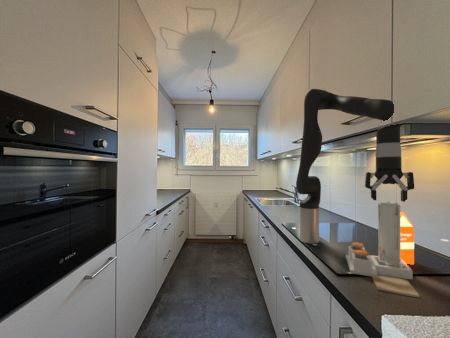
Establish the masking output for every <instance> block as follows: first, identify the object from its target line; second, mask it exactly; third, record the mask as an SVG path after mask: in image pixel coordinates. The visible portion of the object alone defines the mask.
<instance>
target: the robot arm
mask: <svg viewBox="0 0 450 338" xmlns="http://www.w3.org/2000/svg"><path fill="white" fill-rule="evenodd" d="M392 101H393V100H389V99H383V98H382V99H381V98H380V99H379V98H370V97H362V96H351V95H350V96H349V95H347V96H344V95H339V94H335V93H333V92H329V91H327V90H324V89H320V88H311V89H309V90H308V91H307V92H306V94H305V95H304V100H303V126H302V127H303V129H302V138H301V147H300V149H301V150H300V159H299V167H298V173H297V176H296V182H295V184H296V185H295V188H296V192H297V193H298V194H299V195H307V196H306V197H305V198H304V199H302V200H300V202H299V241H301V242H302V243H303V244H304V243H305V244H313V245H314V244H319V243H320V204H321V197H322V196H321V194H322V193H321V191H322V185H321V184H322V183H321V180H320V178H319V177H317V176H315V175H309V174H310V170H311V167H312V165H313V164H314V163H315V161H316V160H317V159H318V157H319V155H320V154H321V151H322V144H323V135H322V131H321V128H320V125H319V120H318V119H319V118H318V116H319V111H321V110H336V111H340V112H342V113H345V114H348V115H353V116H359V117H367V118H371V119H375V120H379V121H382V120H383V121H385V120H388V119H389V118H390V117H391V116H392V115H393V113H394V104H393V102H392ZM400 126H401V125H400V124H396V125H390V126H383V127H381V126H380V128H378V129H377V131H376V133H375V134H376V137H375V139H376V140H375V141H376V142H375V143H376V147H375V155H374V156H375V172H369V171H367V172H365V180H364V187H365V189H369V190H370V199H372V200H373V201H377V190H376V189H378V188H379V187H380V186H381V185H389V184H390V185H397V186H398V187H399V188H400V189H401V190H400V201H401V202H404V203H405V202H406V201H408V192H409V191H410V190H415V179H414V172H411V171H408V172H403V170H402V146H401V129H400ZM401 127H402V126H401ZM374 177H375V178H376V180H375V182H374V183H373V184H372V185H371V180H372V179H373V178H374ZM403 177H404V178H405V179H406V185H407V186H406V185H405V183H404V182H403V181H402V180H401V179H402V178H403Z"/></svg>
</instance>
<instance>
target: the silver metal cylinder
mask: <svg viewBox="0 0 450 338" xmlns="http://www.w3.org/2000/svg"><path fill="white" fill-rule="evenodd" d="M400 212H401V205H400V204H399V202H398V201H397V202H396V201H390V200H389V201H388V200H380V201H379V202H378V204H377V217H378V218H377V221H378V222H377V223H378V224H377V227H378V228H377V229H378V232H377V233H378V235H377V237H378V238H377V239H378V244H377V245H378V248H377V249H378V253H377V254H378V255H377V256H378V258H379V265H383V266H390V267H398V268H401V239H400Z"/></svg>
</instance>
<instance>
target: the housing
mask: <svg viewBox="0 0 450 338" xmlns="http://www.w3.org/2000/svg"><path fill="white" fill-rule="evenodd" d="M362 250H364V251H366V252H367V250H366V249H365V247H364V246H363V248H362ZM345 259H346V263H347V266H348V269H349V273H350V272H351V273H350V274H354V275H358V276H359V275H360V276H367V277H371V275H381V276H388V277H394V278H401V279H407V280H413V281H414V278H413V277H414V276H413V270H412V268H411V267H410V266H409V265H407V264H406V263H405V262H404V261H403V260H402V259H401V268H398V267H390V266H383V265H379V258H378V255H373V254H370V255H368V256H366V260H365V259H358V258H356V254H355V253H354V250H353V247H352V246H351V245H348V254H345Z"/></svg>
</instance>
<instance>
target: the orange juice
mask: <svg viewBox="0 0 450 338" xmlns="http://www.w3.org/2000/svg"><path fill="white" fill-rule="evenodd" d="M400 239H401V259H402V260H403V261H404V262H405V263H406V264H410V265H415V226H413V223H412V222H411V221H410V219H409V218H408V217H407V215H406V214H405V212H403V211H400Z"/></svg>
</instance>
